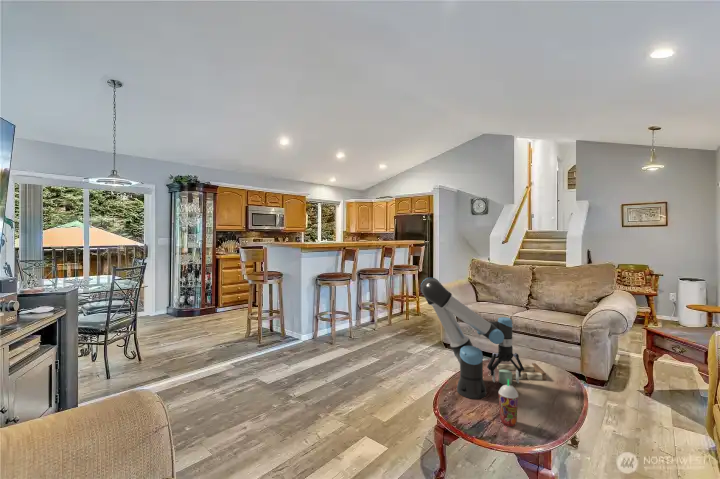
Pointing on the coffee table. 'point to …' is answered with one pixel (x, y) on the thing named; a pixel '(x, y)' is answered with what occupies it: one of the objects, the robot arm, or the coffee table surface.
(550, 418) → the coffee table surface
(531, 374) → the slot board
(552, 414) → the coffee table surface
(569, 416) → the coffee table surface
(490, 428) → the coffee table surface
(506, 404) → the smoothie
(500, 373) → the pale green rounded lump
